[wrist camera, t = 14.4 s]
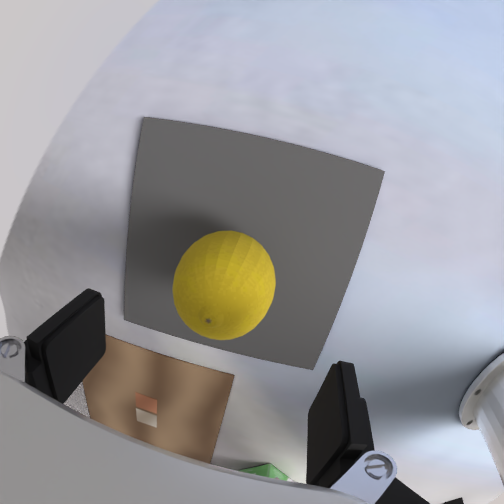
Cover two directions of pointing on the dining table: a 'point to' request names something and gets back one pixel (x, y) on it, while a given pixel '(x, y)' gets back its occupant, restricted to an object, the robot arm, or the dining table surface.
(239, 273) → the lemon
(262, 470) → the ink box
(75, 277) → the dining table surface
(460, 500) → the digital camera
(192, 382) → the board
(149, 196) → the rubber mat
